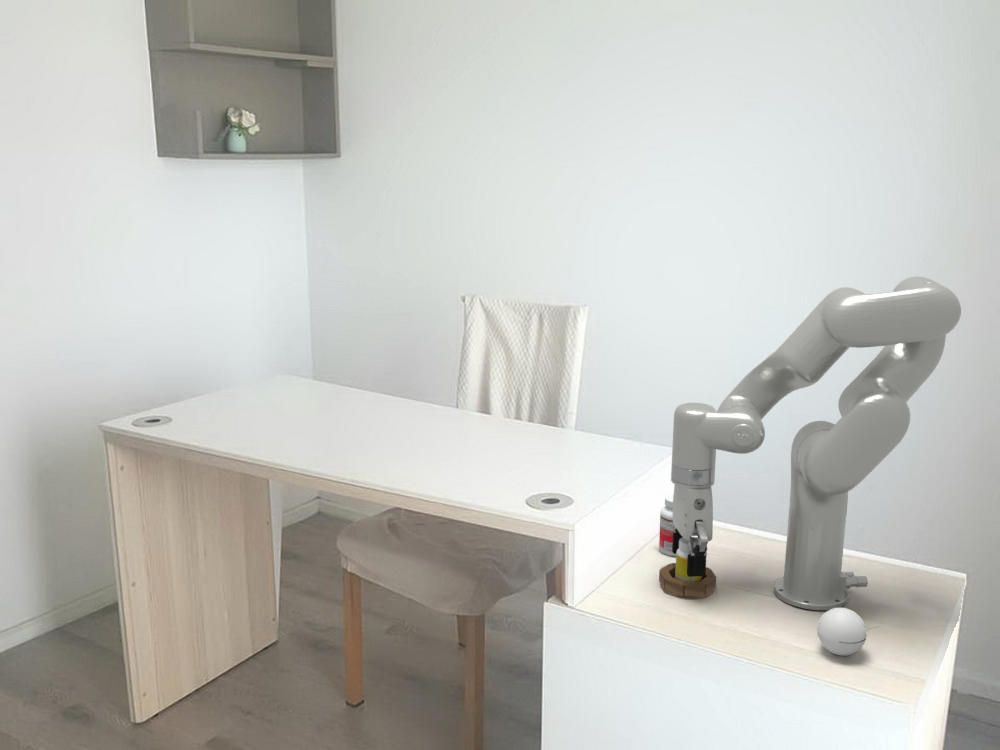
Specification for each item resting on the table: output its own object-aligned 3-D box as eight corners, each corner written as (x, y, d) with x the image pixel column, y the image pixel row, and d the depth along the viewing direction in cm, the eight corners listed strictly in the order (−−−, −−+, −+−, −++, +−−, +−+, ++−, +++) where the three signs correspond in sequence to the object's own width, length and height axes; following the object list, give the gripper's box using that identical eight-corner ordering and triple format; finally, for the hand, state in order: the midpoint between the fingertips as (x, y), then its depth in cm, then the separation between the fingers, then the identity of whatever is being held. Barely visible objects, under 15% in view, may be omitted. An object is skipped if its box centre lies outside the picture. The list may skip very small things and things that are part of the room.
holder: (705, 574, 182) (705, 561, 182) (720, 598, 173) (721, 584, 173) (654, 576, 182) (655, 563, 181) (667, 600, 172) (668, 586, 172)
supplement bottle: (701, 591, 174) (703, 547, 172) (674, 588, 175) (676, 544, 173) (701, 579, 179) (703, 536, 177) (675, 577, 180) (677, 534, 178)
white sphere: (824, 665, 151) (828, 621, 149) (809, 641, 158) (812, 599, 157) (889, 664, 151) (893, 621, 150) (871, 641, 158) (875, 599, 157)
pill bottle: (683, 543, 197) (685, 491, 194) (695, 555, 191) (698, 502, 188) (654, 546, 195) (656, 493, 193) (665, 558, 189) (668, 504, 187)
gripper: (729, 490, 164) (723, 584, 168) (699, 457, 181) (695, 544, 185) (685, 491, 164) (680, 586, 168) (659, 458, 180) (656, 545, 184)
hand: (688, 564), depth 176 cm, fingers open, 9 cm apart
